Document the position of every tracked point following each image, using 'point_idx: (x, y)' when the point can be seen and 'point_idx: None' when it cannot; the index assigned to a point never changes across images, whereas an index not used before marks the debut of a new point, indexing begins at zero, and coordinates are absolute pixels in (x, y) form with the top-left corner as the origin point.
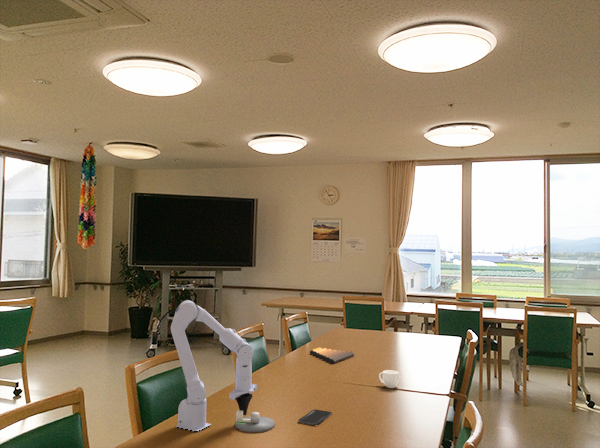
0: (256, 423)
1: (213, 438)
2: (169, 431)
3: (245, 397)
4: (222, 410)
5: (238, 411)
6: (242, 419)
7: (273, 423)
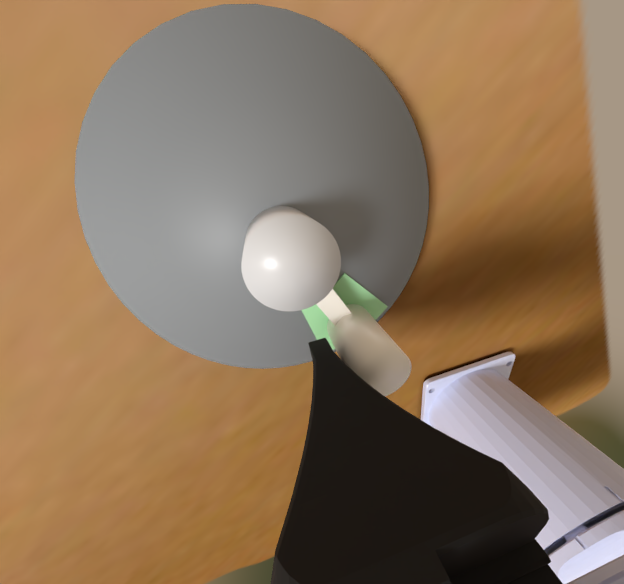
0: None
1: (549, 251)
2: None
3: (523, 528)
4: (249, 493)
5: (404, 368)
6: (352, 313)
7: (142, 61)
